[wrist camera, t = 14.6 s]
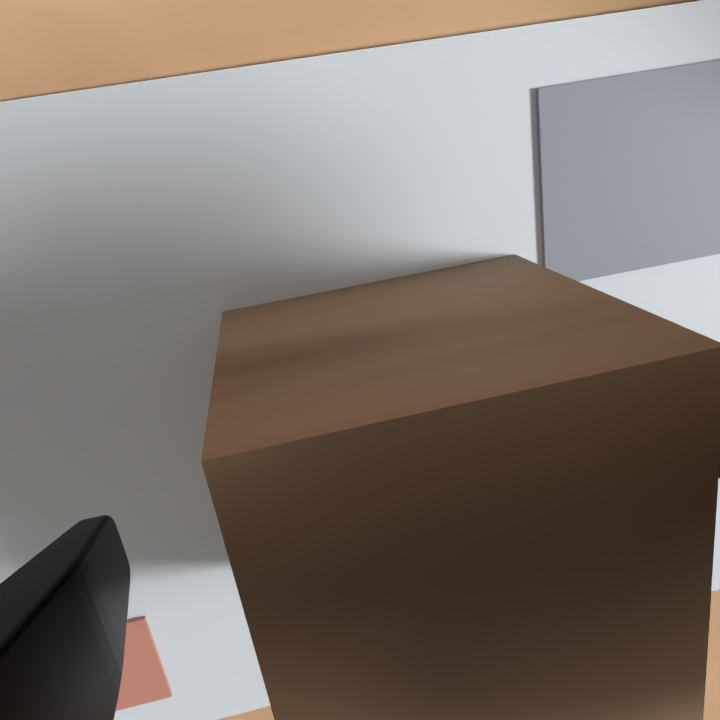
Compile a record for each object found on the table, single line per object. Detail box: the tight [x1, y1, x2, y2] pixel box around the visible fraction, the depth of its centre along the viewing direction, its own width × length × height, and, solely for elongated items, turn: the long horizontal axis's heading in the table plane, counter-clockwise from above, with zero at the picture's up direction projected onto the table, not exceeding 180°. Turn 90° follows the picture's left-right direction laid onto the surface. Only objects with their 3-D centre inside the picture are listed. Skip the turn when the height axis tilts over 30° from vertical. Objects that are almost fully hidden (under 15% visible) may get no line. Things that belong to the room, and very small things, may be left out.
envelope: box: [0, 0, 720, 720], centre depth 11 cm, size 12×18×1 cm, turn 98°
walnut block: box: [201, 255, 720, 720], centre depth 9 cm, size 5×5×5 cm
